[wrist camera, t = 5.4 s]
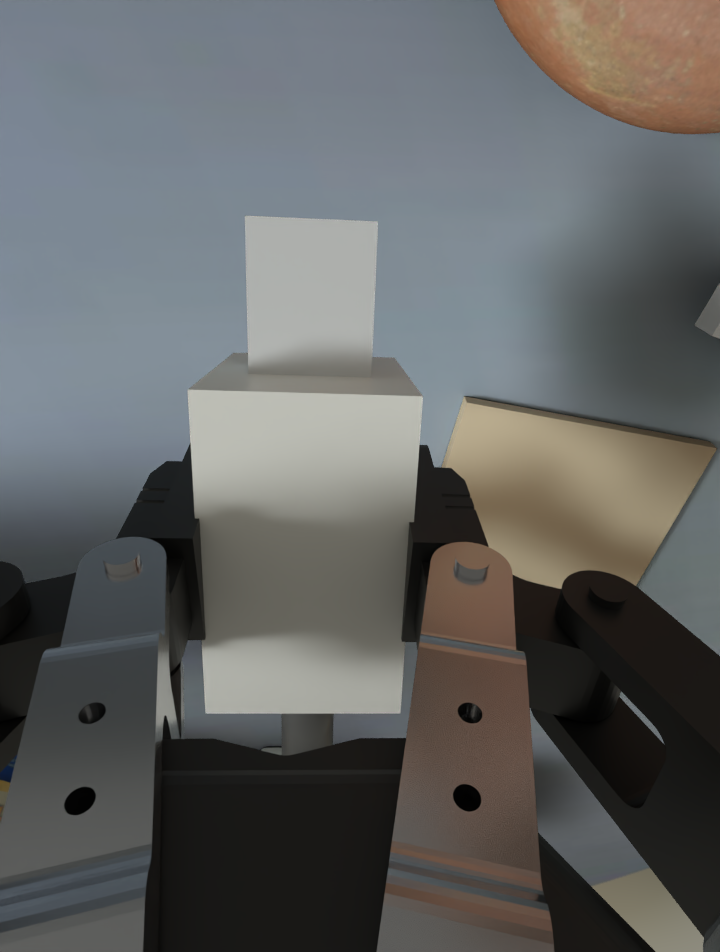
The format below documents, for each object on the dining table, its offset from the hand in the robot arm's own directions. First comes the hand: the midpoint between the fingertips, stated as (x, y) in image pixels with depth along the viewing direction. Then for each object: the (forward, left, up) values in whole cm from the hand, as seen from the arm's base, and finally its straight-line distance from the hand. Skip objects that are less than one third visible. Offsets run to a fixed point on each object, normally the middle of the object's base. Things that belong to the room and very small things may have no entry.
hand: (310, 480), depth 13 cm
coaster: (-5, -13, -11) cm, 18 cm away
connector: (-1, 0, -1) cm, 1 cm away
